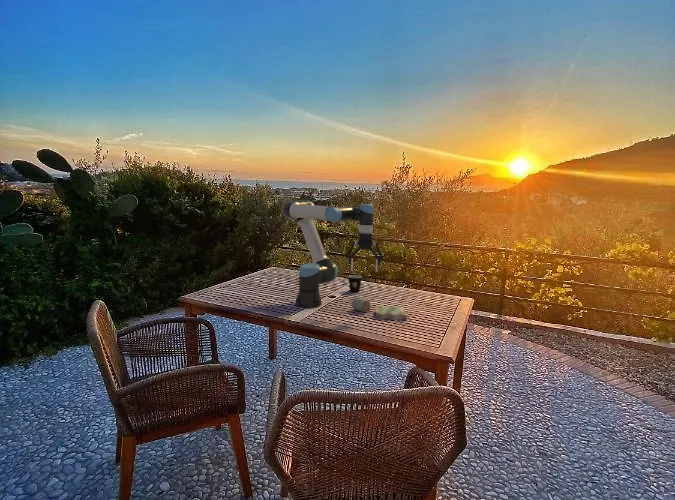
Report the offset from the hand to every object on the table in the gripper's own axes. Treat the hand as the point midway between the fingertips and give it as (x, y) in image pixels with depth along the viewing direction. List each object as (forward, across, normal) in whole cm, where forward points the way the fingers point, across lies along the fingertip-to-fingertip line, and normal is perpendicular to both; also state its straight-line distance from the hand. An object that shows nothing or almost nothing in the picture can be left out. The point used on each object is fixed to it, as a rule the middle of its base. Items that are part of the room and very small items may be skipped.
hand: (364, 270), depth 207 cm
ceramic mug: (+23, 0, +1) cm, 23 cm away
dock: (+23, +15, -6) cm, 28 cm away
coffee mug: (+23, -8, +41) cm, 48 cm away
